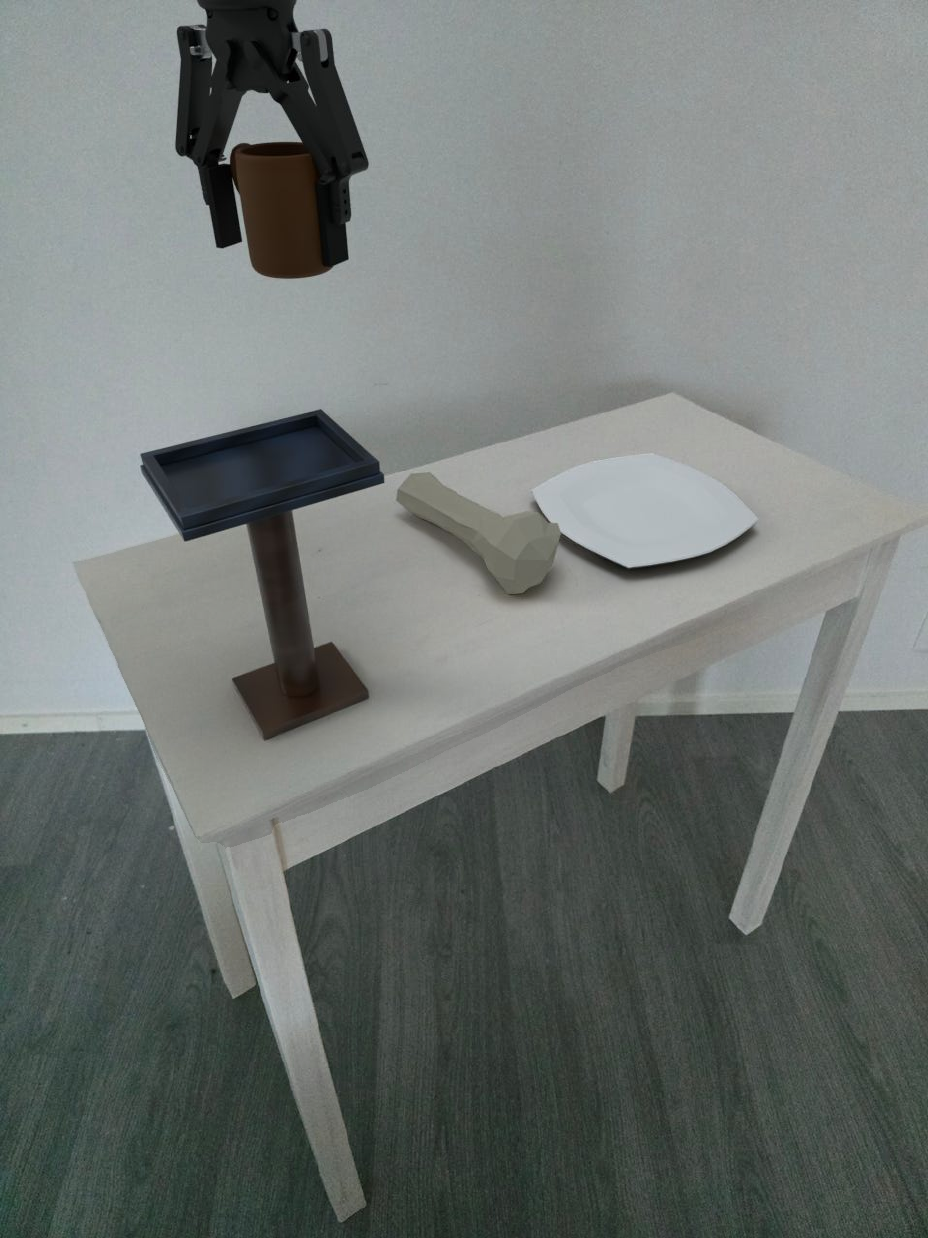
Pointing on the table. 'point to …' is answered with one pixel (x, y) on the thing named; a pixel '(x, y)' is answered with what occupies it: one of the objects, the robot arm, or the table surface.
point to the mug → (279, 208)
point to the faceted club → (487, 531)
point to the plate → (643, 510)
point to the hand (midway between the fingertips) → (281, 253)
